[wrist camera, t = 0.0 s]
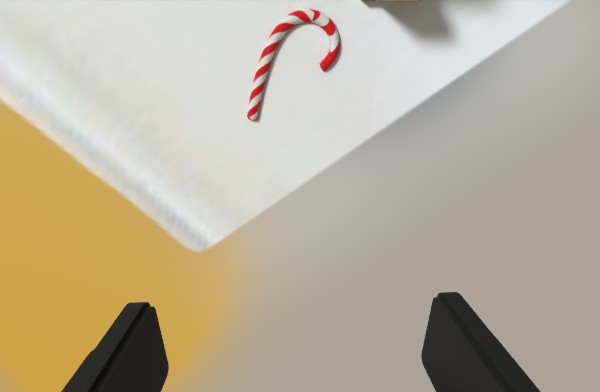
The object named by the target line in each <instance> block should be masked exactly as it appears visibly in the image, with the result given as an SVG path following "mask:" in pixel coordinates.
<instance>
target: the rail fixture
mask: <svg viewBox="0 0 600 392" xmlns="http://www.w3.org/2000/svg"><path fill="white" fill-rule="evenodd" d="M377 1H422V0H377Z"/></svg>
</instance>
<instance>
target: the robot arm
mask: <svg viewBox="0 0 600 392" xmlns="http://www.w3.org/2000/svg"><path fill="white" fill-rule="evenodd" d="M422 362H423V365H424V368H425V369H426V372H427V374H428V376H429V378H430V380H431V382H432V384H433V386H434V388H435V390H436V392H540V391H539V389H538V388H537V387H536V386H535V385H534V383H533V382H532V381H531V380H530V378H529V377H528V376H527V375H526V374H525V372H524V371H523V370H522V369H521V368H520V367H519V365H518V364H517V363H516V361H515V360H514V359H513V358H512V357H511V355H510V354H509V353H508V352H507V350H506V349H505V348H504V347H503V346H502V344H501V343H500V342H499V341H498V340H497V339H496V338H495V336H494V335H493V334H492V333H491V331H490V330H489V329H488V328H487V327H486V325H485V324H484V323H483V322H482V320H481V319H480V318H479V317H478V316H477V314H476V313H475V312H474V311H473V309H472V308H471V307H470V306H469V305H468V303H467V302H466V301H465V300H464V299H463V297H462V296H461V295H460V294H459V293H457V292H448V293H439V294H438V296H437V297H435V298H434V299H433V302H432V306H431V312H430V316H429V321H428V326H427V330H426V336H425V340H424V345H423V350H422ZM167 374H168V361H167V356H166V352H165V348H164V344H163V339H162V335H161V331H160V327H159V322H158V318H157V314H156V310H155V308H154V307H151V306H150V304H149V303H147V302H141V303H140V302H139V303H128V304H127V305H126V306H125V307H124V309H123V310H122V312H121V313H120V314H119V316H118V317H117V319H116V320H115V322H114V323H113V324H112V326H111V327H110V328H109V330H108V331H107V333H106V334H105V335H104V337H103V338H102V340H101V341H100V342H99V344H98V345H97V347H96V348H95V349H94V350H93V351H91V352H90V354H89V355H88V356H87V357H86V359H85V360H84V361H83V363H82V364H81V365H80V367H79V368H78V370H77V371H76V372H75V374H74V375H73V377H72V378H71V379H70V381H69V382H68V384H67V385H66V386H65V388H64V389H63V390H62V392H161V390H162V388H163V385H164V382H165V380H166V378H167Z"/></svg>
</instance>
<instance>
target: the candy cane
mask: <svg viewBox="0 0 600 392" xmlns="http://www.w3.org/2000/svg"><path fill="white" fill-rule="evenodd" d="M303 22H311V23H315V24H317V25H319V26H320V27H322V28H323V29H324V30H325V31H326V33H327V35H328V37H329V41H330V50H329V53H328V55H327V56H326V58H325V59H324V60H323V61H322V62H321V63H320V66H321V68H322V70H323V71H326V70H327V69H328V68H329V67H330V66H331V65H332V64H333V62H334V61H335V59H336V57H337V55H338V51H339V35H338V31H337V28H336V26H335V24H334V23H333V22H332V20H331V19H330V18H329V17H328V16H326V15H325V14H323V13H321V12H319V11H316V10H312V9H302V10H298V11H295V12H293V13H291V14H289V15H288V16H286V17H285V18H284V19H283V20H282V21H281V22H280V23H279V24H278V25H277V26H276V28H275V29H274V30H273V32H272V33H271V35H270V37H269V39H268V41H267V43H266V45H265V47H264V50H263V52H262V55H261V58H260V61H259V65H258V68H257V71H256V75H255V79H254V83H253V87H252V91H251V96H250V102H249V107H248V115H247V117H248V119H250V120H256V119H257V115H258V110H259V105H260V100H261V95H262V91H263V87H264V83H265V80H266V76H267V73H268V69H269V66H270V63H271V60H272V57H273V55H274V52H275V50H276V48H277V46H278V44H279V42H280V40H281V39H282V37H283V36H284V34H285V33H286V32H287V31H288V30H289V29H290V28H292V27H293V26H295V25H297V24H299V23H303Z"/></svg>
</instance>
